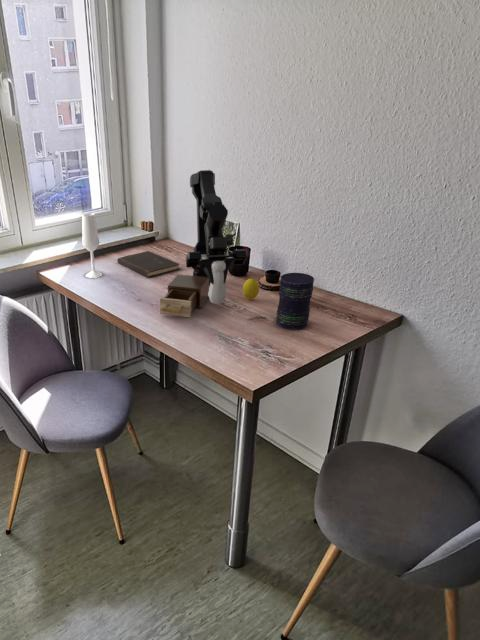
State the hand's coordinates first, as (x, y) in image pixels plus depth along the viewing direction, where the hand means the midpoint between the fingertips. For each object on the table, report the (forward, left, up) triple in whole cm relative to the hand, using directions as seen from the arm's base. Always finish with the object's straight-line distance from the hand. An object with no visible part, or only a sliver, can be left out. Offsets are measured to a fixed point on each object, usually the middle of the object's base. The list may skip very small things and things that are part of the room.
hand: (218, 283), depth 156 cm
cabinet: (-3, -19, -12) cm, 23 cm away
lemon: (-20, -6, -13) cm, 24 cm away
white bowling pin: (-1, -1, -7) cm, 7 cm away
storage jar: (-17, +16, -13) cm, 27 cm away
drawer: (+7, -11, -12) cm, 18 cm away
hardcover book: (-12, -59, -13) cm, 61 cm away
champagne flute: (+11, -64, -13) cm, 66 cm away
